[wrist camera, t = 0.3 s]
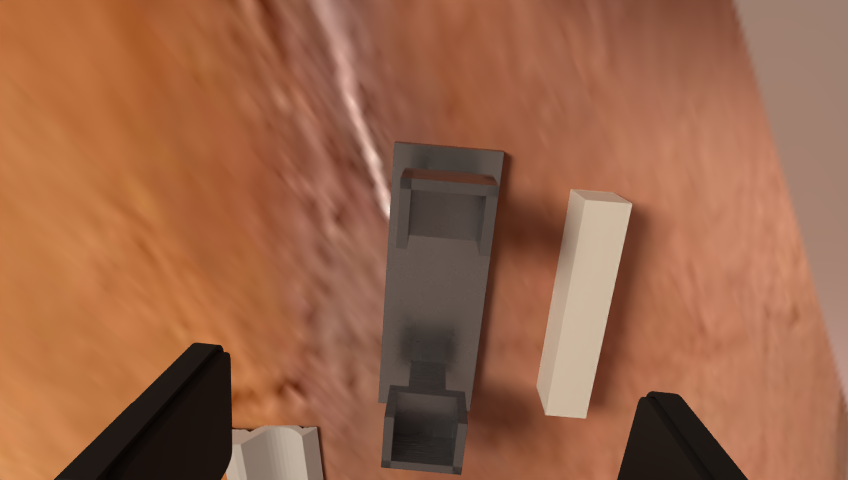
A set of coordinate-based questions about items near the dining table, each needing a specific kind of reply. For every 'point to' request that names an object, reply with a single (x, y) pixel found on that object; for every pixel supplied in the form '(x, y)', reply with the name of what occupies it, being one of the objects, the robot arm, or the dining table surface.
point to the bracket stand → (434, 300)
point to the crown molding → (275, 454)
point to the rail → (581, 300)
